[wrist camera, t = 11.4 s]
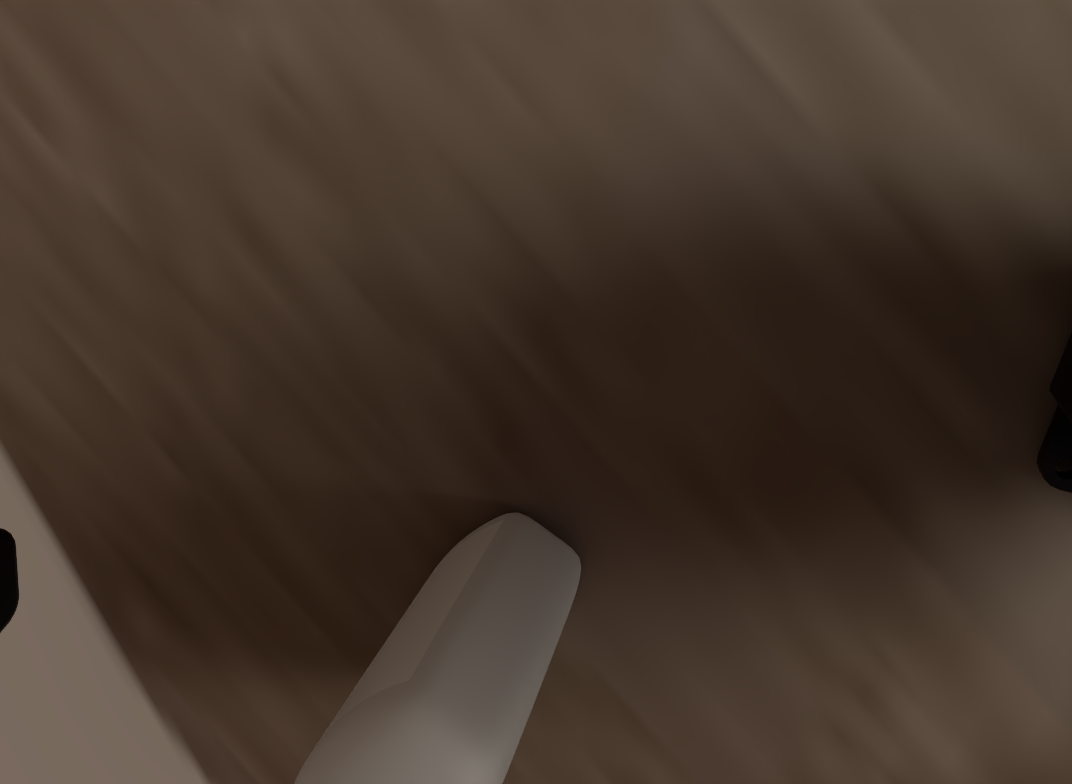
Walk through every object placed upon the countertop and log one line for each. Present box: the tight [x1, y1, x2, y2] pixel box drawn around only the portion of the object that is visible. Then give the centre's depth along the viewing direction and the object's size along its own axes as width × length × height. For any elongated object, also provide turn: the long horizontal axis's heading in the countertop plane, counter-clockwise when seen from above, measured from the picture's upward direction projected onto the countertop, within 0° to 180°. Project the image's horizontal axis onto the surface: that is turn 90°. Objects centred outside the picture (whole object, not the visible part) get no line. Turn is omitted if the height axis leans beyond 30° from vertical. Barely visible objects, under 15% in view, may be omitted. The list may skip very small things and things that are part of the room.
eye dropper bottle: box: [294, 512, 581, 784], centre depth 19 cm, size 4×6×12 cm
